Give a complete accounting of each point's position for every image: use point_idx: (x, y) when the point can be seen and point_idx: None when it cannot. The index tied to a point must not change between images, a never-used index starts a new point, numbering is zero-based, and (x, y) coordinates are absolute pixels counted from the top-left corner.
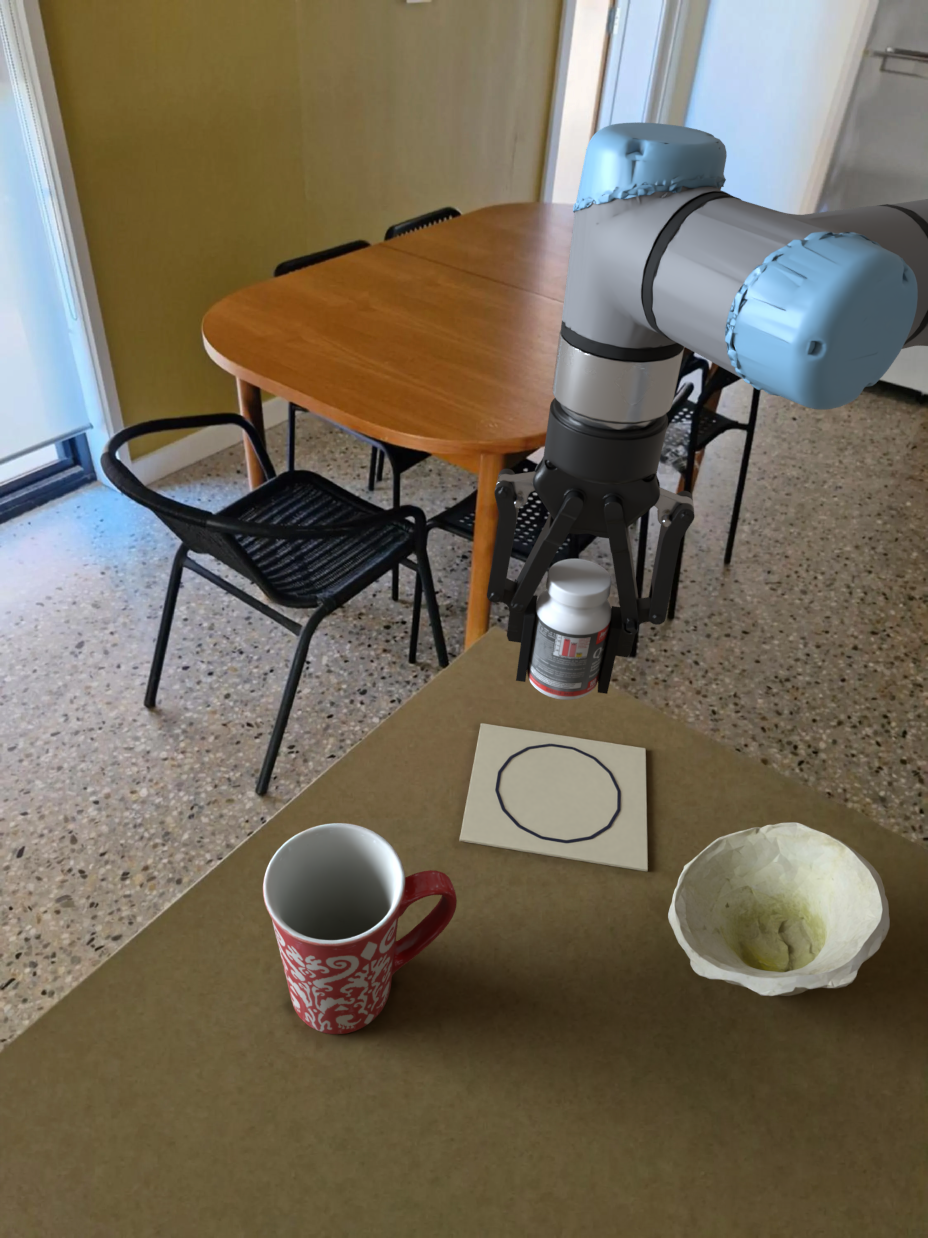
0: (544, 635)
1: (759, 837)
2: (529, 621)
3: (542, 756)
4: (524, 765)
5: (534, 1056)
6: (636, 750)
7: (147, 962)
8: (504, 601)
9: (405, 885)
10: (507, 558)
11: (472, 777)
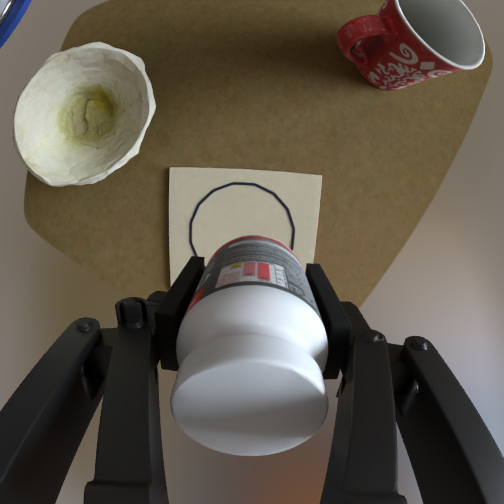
0: (306, 294)
1: (79, 176)
2: (338, 318)
3: None
4: None
5: (255, 25)
6: None
7: (473, 91)
8: (391, 346)
9: (389, 25)
10: (448, 413)
11: (314, 240)
